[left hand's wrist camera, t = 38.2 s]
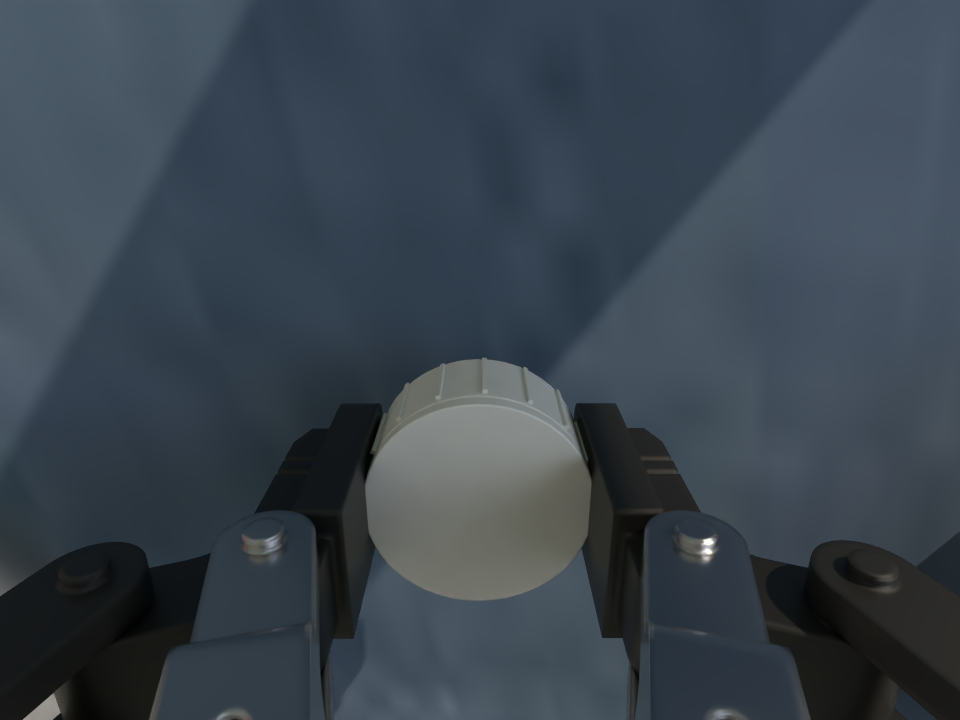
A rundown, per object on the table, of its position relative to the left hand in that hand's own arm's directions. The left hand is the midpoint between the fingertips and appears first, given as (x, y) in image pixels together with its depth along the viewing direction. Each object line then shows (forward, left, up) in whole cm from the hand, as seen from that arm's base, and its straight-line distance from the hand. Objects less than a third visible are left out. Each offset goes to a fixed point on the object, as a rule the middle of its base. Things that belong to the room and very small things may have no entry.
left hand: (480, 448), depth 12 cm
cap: (0, 0, +2) cm, 2 cm away
